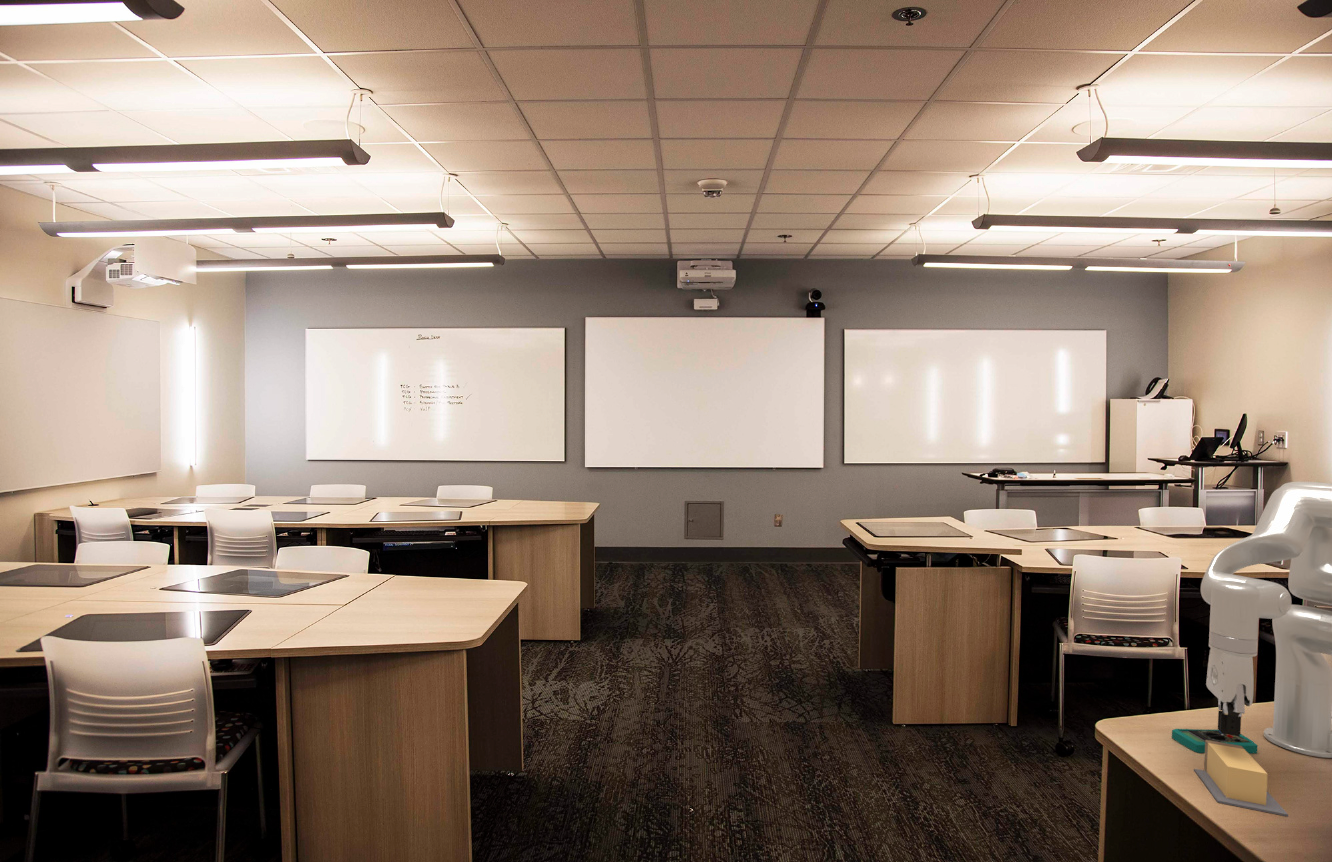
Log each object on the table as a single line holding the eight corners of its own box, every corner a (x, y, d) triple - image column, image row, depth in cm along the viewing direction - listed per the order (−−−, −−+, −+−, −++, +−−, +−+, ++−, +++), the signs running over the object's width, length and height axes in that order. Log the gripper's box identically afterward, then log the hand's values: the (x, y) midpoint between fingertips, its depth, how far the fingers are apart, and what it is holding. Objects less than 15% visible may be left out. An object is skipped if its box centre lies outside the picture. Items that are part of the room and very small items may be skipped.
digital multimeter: (1260, 755, 148) (1261, 742, 148) (1196, 755, 147) (1196, 741, 147) (1231, 740, 155) (1231, 727, 155) (1169, 739, 155) (1170, 726, 155)
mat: (1257, 782, 136) (1257, 780, 136) (1288, 816, 124) (1288, 814, 124) (1194, 770, 140) (1194, 768, 140) (1217, 802, 128) (1217, 800, 128)
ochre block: (1241, 745, 138) (1267, 773, 126) (1240, 774, 138) (1266, 804, 127) (1205, 739, 140) (1227, 766, 129) (1204, 768, 140) (1226, 797, 129)
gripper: (1197, 630, 144) (1193, 714, 145) (1224, 651, 130) (1219, 744, 131) (1240, 635, 141) (1237, 721, 142) (1273, 657, 128) (1268, 753, 128)
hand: (1228, 732), depth 136 cm, fingers closed
